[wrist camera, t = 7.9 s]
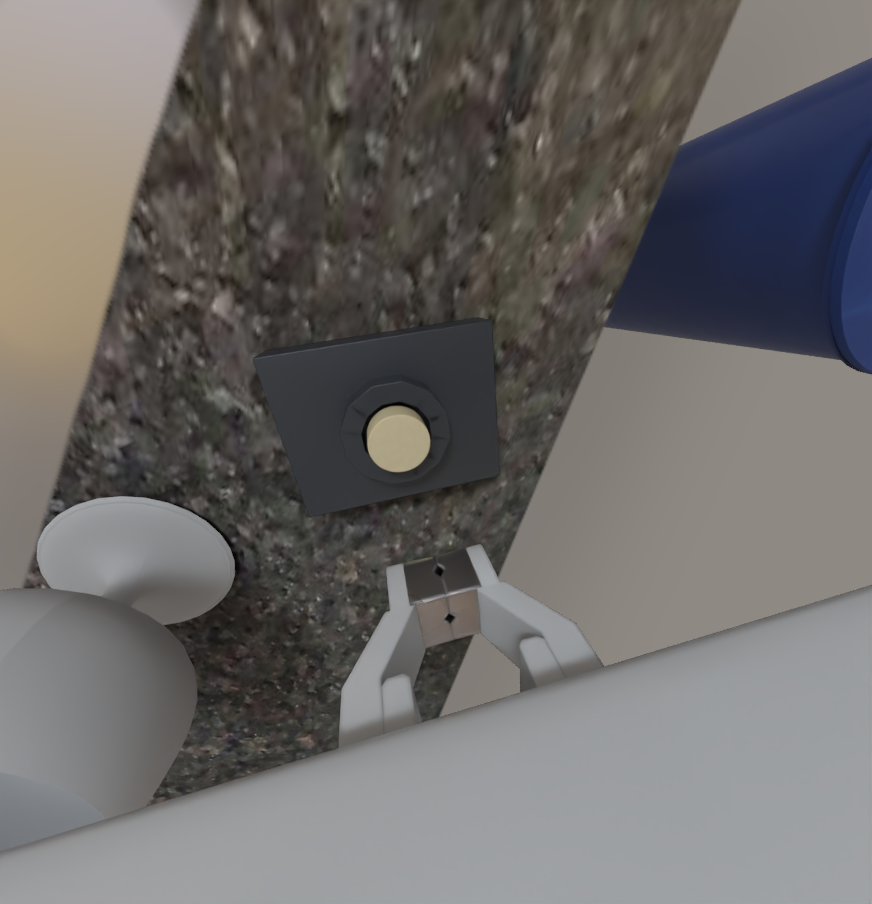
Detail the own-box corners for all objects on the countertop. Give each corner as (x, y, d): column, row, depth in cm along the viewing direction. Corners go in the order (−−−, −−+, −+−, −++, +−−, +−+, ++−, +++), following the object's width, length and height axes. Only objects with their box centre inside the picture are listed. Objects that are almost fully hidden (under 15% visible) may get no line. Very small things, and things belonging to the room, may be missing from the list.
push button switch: (421, 400, 20) (426, 409, 19) (429, 453, 22) (434, 465, 20) (360, 411, 20) (360, 421, 18) (373, 464, 22) (374, 478, 20)
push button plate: (478, 317, 23) (503, 322, 19) (487, 460, 28) (509, 488, 24) (263, 350, 21) (241, 364, 17) (313, 497, 26) (305, 534, 22)
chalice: (46, 449, 21) (-490, 718, 8) (276, 520, 26) (193, 755, 13) (8, 607, 25) (-398, 973, 11) (216, 643, 30) (103, 921, 17)
